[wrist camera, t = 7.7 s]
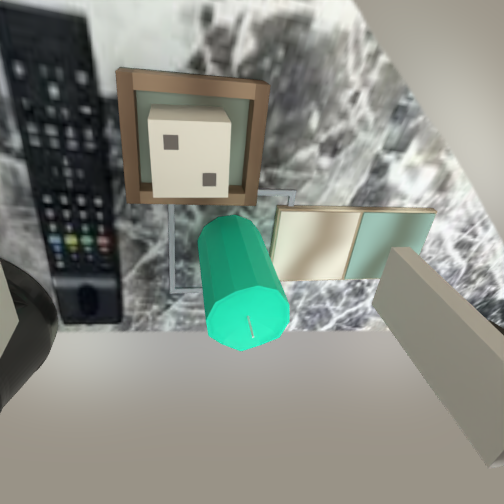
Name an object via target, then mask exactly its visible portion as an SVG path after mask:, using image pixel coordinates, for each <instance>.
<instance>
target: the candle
mask: <svg viewBox="0 0 504 504" xmlns="http://www.w3.org/2000/svg"><path fill="white" fill-rule="evenodd" d="M197 242H198V251H199V261H200V270H201V279H202V289H203V298H204V307H205V316H206V324H207V330H208V335H209V336H210V337H211V338H213V339H214V340H216V341H218V342H219V343H221V344H223V345H226V346H228V347H231V348H234V349H237V350H239V351H243V350H247V349H250V348H253V347H256V346H259V345H262V344H265V343H267V342H269V341H272V340H275V339H277V338H279V337H280V336H281V334H282V333H283V331H284V329H285V328H286V326H287V325H288V323H289V303H288V300H287V298H286V295H285V293H284V290H283V288H282V285H281V283H280V280H279V278H278V276H277V273H276V271H275V268H274V266H273V263H272V261H271V258H270V256H269V254H268V251H267V249H266V246H265V244H264V241H263V239H262V236H261V234H260V232H259V231H258V229H257V228H256V227H255V225H254V224H253V223H252V221H251V220H248V219H245V218H243V217H240V216H237V215H230V216H222V217H217V218H216V219H214V220H213V221H212V222H210V223H209V224H207V225H206V226H204V228H203V230H202V232H201V234H200V236H199V238H198V241H197Z"/></svg>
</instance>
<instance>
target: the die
mask: <svg viewBox="0 0 504 504" xmlns="http://www.w3.org/2000/svg"><path fill="white" fill-rule="evenodd" d="M148 132H149V146H150V159H151V173H152V187H153V198H228V186H229V164H230V141H231V121H230V120H229V118H228V116H227V114H226V112H225V111H224V109H223V107H214V106H193V105H171V104H152V105H151V109H150V112H149V116H148Z"/></svg>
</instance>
